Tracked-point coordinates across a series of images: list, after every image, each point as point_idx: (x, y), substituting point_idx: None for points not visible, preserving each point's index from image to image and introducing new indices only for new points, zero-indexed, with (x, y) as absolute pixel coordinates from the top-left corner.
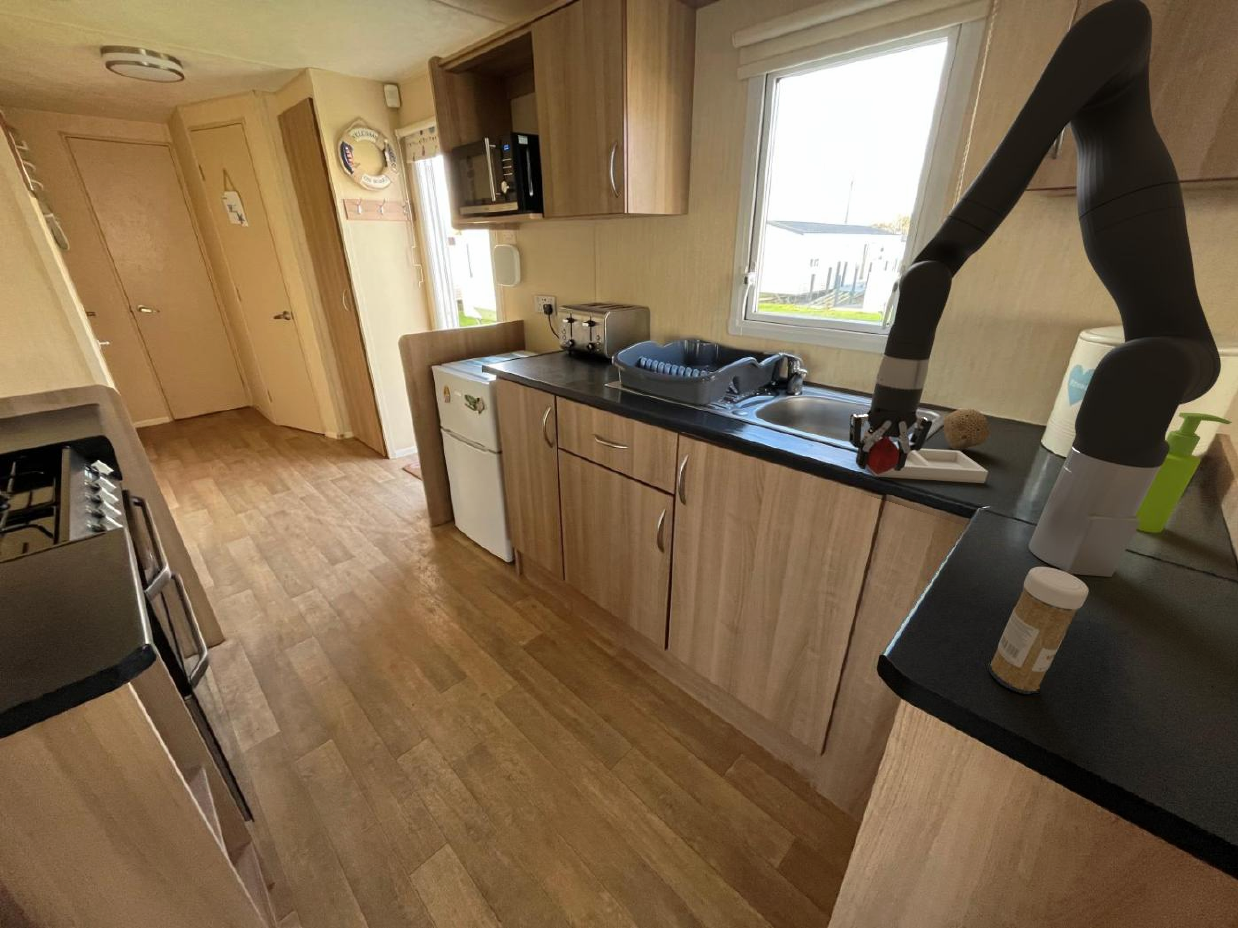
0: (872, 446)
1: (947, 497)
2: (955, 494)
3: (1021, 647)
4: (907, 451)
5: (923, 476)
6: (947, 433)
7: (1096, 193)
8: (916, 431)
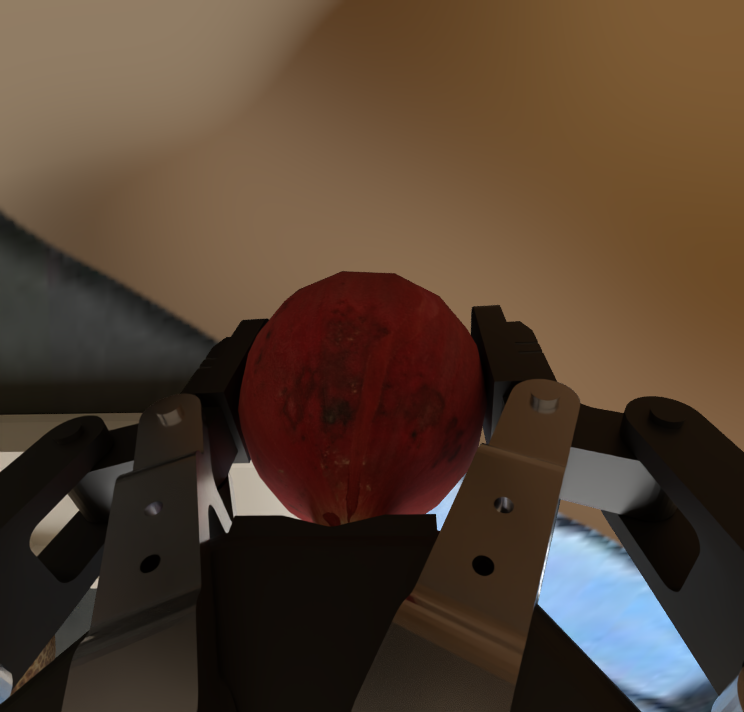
0: (464, 441)
1: (47, 260)
2: (17, 299)
3: None
4: (169, 401)
5: (137, 421)
6: (33, 666)
7: None
8: (24, 616)
